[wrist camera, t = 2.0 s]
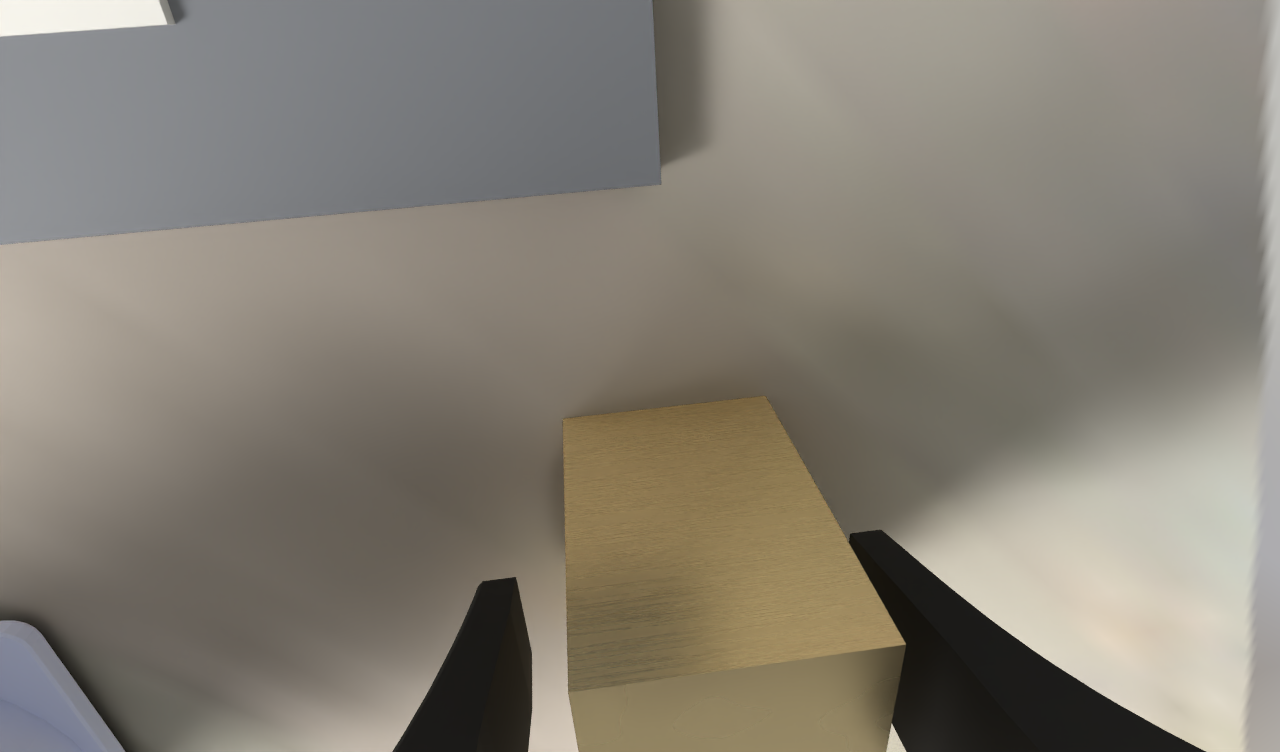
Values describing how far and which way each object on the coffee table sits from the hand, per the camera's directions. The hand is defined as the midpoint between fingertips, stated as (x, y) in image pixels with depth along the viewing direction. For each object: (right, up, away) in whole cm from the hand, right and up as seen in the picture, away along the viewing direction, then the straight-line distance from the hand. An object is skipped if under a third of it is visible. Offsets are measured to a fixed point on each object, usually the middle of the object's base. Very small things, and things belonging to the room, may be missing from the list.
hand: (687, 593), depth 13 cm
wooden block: (0, +1, +2) cm, 2 cm away
